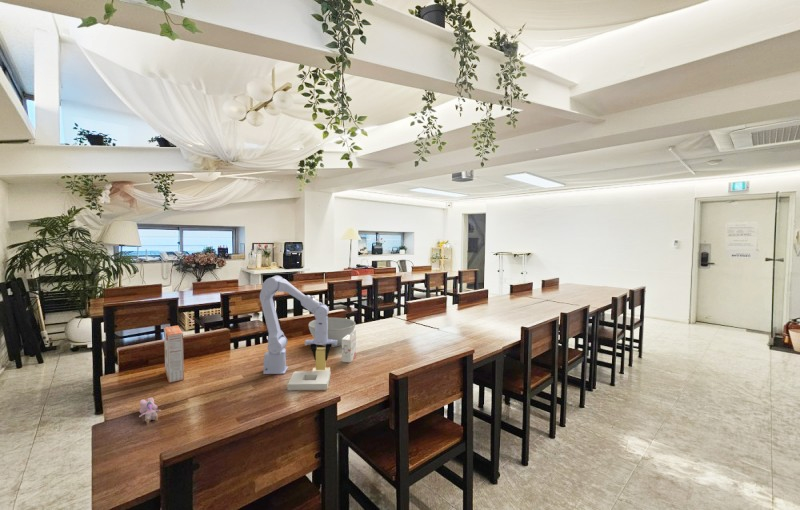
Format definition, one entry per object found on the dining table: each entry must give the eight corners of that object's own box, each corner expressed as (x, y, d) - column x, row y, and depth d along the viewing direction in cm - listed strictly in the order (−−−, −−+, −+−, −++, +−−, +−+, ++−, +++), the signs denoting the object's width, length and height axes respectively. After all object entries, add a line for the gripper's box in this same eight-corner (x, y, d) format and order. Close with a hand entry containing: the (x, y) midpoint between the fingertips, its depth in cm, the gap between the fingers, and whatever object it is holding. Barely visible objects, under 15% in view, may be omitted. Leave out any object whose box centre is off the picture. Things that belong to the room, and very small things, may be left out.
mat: (310, 375, 157) (310, 374, 157) (313, 368, 165) (313, 367, 165) (328, 375, 158) (328, 374, 158) (330, 368, 166) (330, 367, 166)
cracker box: (164, 372, 156) (163, 326, 154) (179, 369, 159) (179, 324, 158) (167, 383, 145) (166, 334, 143) (184, 380, 148) (183, 332, 147)
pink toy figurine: (163, 423, 118) (155, 400, 129) (163, 408, 117) (156, 386, 127) (140, 430, 114) (134, 406, 124) (141, 414, 113) (134, 391, 123)
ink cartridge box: (346, 356, 183) (347, 328, 182) (355, 356, 182) (356, 329, 181) (341, 361, 174) (341, 333, 173) (350, 362, 173) (350, 334, 172)
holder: (287, 390, 142) (287, 384, 142) (294, 376, 155) (294, 371, 155) (327, 389, 143) (327, 383, 143) (330, 376, 156) (330, 371, 156)
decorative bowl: (318, 335, 217) (318, 316, 216) (360, 338, 213) (360, 318, 212) (300, 349, 190) (300, 327, 189) (347, 353, 187) (348, 331, 186)
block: (315, 369, 159) (315, 350, 158) (316, 366, 163) (317, 347, 162) (324, 369, 159) (325, 350, 158) (326, 366, 163) (326, 347, 162)
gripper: (303, 333, 155) (303, 363, 156) (336, 333, 157) (336, 362, 158) (306, 329, 162) (306, 357, 163) (337, 329, 164) (337, 357, 165)
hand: (321, 359), depth 161 cm, fingers closed on block, 4 cm apart
